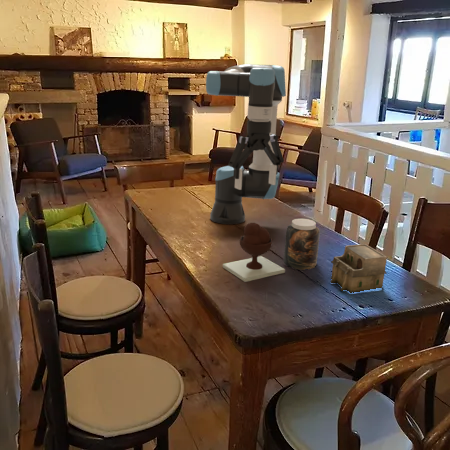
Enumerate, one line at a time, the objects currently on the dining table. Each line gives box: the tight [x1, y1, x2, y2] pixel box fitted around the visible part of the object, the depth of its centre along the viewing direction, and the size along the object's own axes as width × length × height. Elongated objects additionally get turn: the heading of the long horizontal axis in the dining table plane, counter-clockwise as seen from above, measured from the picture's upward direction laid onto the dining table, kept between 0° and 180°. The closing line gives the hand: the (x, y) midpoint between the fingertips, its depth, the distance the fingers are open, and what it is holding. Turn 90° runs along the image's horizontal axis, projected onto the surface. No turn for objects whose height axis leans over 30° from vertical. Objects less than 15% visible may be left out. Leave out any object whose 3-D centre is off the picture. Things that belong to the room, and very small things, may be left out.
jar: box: [283, 218, 321, 271], centre depth 169 cm, size 12×12×15 cm
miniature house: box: [329, 243, 388, 293], centre depth 156 cm, size 15×14×11 cm
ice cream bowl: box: [238, 222, 273, 270], centre depth 162 cm, size 11×11×15 cm
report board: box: [222, 255, 286, 283], centre depth 164 cm, size 16×13×1 cm
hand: (255, 186), depth 160 cm, fingers open, 13 cm apart
